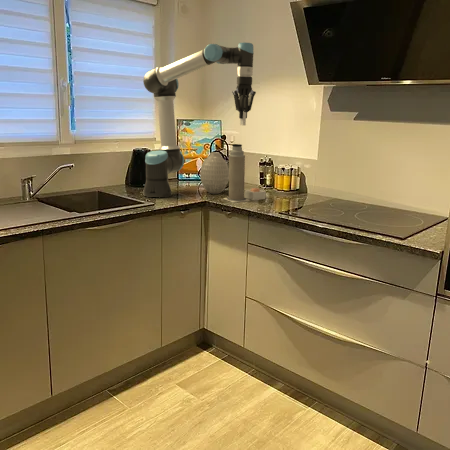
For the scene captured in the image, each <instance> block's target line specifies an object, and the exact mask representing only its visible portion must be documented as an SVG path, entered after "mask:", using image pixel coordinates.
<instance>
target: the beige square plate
mask: <svg viewBox="0 0 450 450" xmlns="http://www.w3.org/2000/svg"><path fill="white" fill-rule="evenodd" d="M223 200H225V201H228V202H231V203H241V202H249V201H250V202H251V199H248V198H245V197H244V199H243V200H231V199H229V197H223Z"/></svg>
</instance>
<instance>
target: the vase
mask: <svg viewBox="0 0 450 450" xmlns="http://www.w3.org/2000/svg"><path fill="white" fill-rule="evenodd" d="M199 173H200V174H199V175H200V181H201V184H202V187H204V189H205V190H206V191H207V192H208V194H215V195H216V194H217V195H218V194H221V193H222V192H223V191H224V190H225V189H226V186H227V185H228V184H229V164H228V163H227V161H226V160H225V159H224V158H223V156H221V153H220V152H217V151H216V152H215V151H213V152H210V153H209V155H208V156H207V157H206V158H205V160H203V162H202V164H201V167H200V170H199Z"/></svg>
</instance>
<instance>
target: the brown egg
mask: <svg viewBox="0 0 450 450" xmlns="http://www.w3.org/2000/svg"><path fill="white" fill-rule="evenodd" d="M250 190H251V191H253V192H258V191H259V190H260V188H258V187H253V188H250Z"/></svg>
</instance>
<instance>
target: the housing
mask: <svg viewBox="0 0 450 450" xmlns="http://www.w3.org/2000/svg"><path fill="white" fill-rule="evenodd" d="M266 196H267V192H266V190H263V189H259V191H258V192H253V191H251V189H244V198H246V199H249V200H250V201H258V200H266Z"/></svg>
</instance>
